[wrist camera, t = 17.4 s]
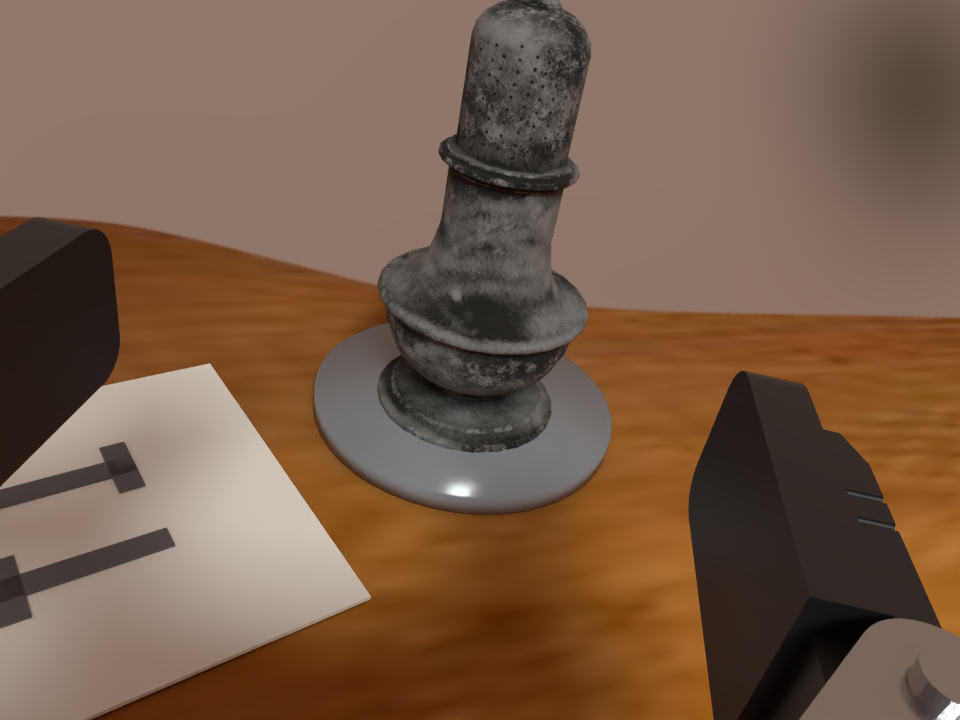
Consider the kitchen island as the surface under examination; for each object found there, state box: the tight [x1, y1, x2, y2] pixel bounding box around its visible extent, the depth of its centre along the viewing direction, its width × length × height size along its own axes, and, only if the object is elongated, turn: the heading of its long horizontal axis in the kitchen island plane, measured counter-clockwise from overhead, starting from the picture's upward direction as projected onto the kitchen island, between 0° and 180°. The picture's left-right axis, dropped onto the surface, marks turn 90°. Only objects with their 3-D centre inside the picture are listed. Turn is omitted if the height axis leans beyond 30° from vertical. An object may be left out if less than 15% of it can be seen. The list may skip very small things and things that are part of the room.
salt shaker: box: [377, 0, 591, 453], centre depth 20 cm, size 6×6×12 cm
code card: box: [0, 364, 371, 720], centre depth 18 cm, size 10×10×1 cm
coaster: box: [313, 322, 612, 514], centre depth 24 cm, size 9×9×1 cm
